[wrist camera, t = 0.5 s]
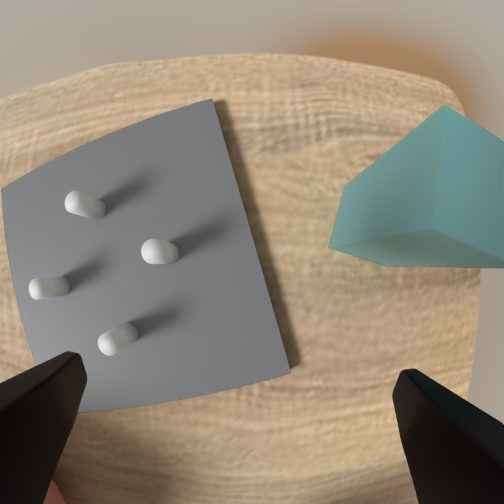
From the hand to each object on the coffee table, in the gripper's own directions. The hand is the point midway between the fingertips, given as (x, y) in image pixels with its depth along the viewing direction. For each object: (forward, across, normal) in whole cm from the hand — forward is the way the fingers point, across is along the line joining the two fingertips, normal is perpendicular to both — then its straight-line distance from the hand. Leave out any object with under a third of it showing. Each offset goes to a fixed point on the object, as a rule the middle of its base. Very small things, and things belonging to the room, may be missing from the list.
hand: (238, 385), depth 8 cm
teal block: (+15, -8, -1) cm, 17 cm away
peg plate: (+13, +9, +3) cm, 17 cm away
